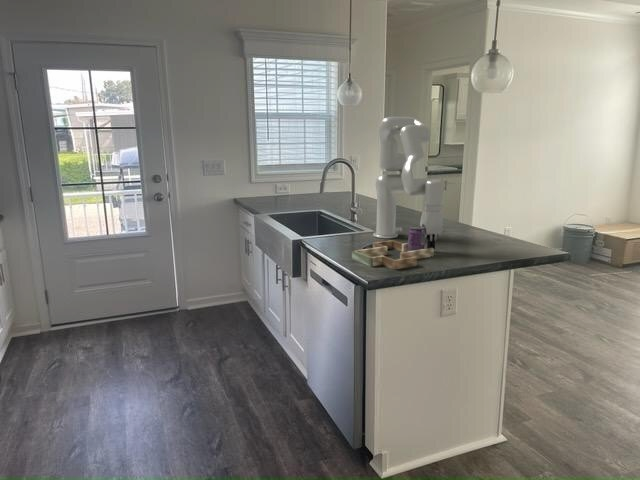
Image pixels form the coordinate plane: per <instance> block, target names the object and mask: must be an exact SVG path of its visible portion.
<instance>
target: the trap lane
mask: <svg viewBox="0 0 640 480" xmlns="http://www.w3.org/2000/svg"><path fill="white" fill-rule="evenodd" d="M390 249H394V250H396V251H399V258H398V259H394V258H391V257H389V256H386V255H388V250H390ZM434 251H435V249H434V248H427V247H426V248H424V249H421V250H414V251H408V242H405V243H403V242H399V241H397V240H393V239H392V240H385V241H377V242H372V248H371V247H370V248H364V249H357V250H352V251H351V260H354V261H356V262H359V263H360V264H362V265H363V264H364V265H366V266H368V267H371V268H372V267H377V266H384V267H386V268H388V269H391V270H400V269H405V268H411V267H417V266H418V259H419V260H420V259H424V258H432V257H434ZM431 256H432V257H431Z"/></svg>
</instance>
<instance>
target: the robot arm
mask: <svg viewBox="0 0 640 480" xmlns="http://www.w3.org/2000/svg"><path fill="white" fill-rule="evenodd" d="M378 134H379V141H380V142H379V143H380V145H379V146H380V148H379V167H380V170H381V171H383V172H386V174H381V175H379V176H378V177H377V178H376V180H375V188H376V190H375V191H376V202H377V203H376V229H375V232H373V234H372V235H373V237H375V238H379V239H395V238H398V236H399V234H398V232H403V227H397V226H396V218H397V217H396V214H397V212H396V211H397V201H396V198H395V196H394V194H400V193H406V194H407V195H408V196H410V197H411V196H412V197H417V196H424V201H423V202H424V203H423V207H424V208H423V211H422V212H421V217H420V223H419V226H421V227H424V230H425V240H426V241H427V243H426V249H427V248H434V250H435V249H436V241H437V238H438V237H439V236H441V235H442V233H443V230H444V216H443V211H442V209H443V208H444V207H443V189H444V188H443V187H444V183H443V181H442V180H439V179H438V180H437V179H432V178H424V177H423V178H421V177H420V178H414V174H413V167H414V165H415V164H416V163H418V162H420V161H422V160H423V159H424V157H425V151H424V147H423V144H427V143H429V140H430V139H431V131H430V129H429V127H428V125H426V124H425V123H424V122H422V121H420V120H418V119H417V118H415V117H411V116H387V117H385V118H383V119H382V120H381V121H380V123H379V126H378ZM397 135H398V136H400V137H399V138H400V141H401V145H402V148H403V152H402V151H398V149H399V148H398V146H399V143H398V140H397V138H396V136H397ZM387 172H396V173H390V174H388V173H387Z"/></svg>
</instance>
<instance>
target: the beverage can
mask: <svg viewBox="0 0 640 480" xmlns="http://www.w3.org/2000/svg"><path fill="white" fill-rule="evenodd" d="M407 238H408V239H407V243H408V251H414V250H421V249H425V242H426V241H425V240H426V238H425V230H424V227H421V226H420V225H412V226H409V230H408V237H407ZM408 251H407V252H408Z"/></svg>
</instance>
